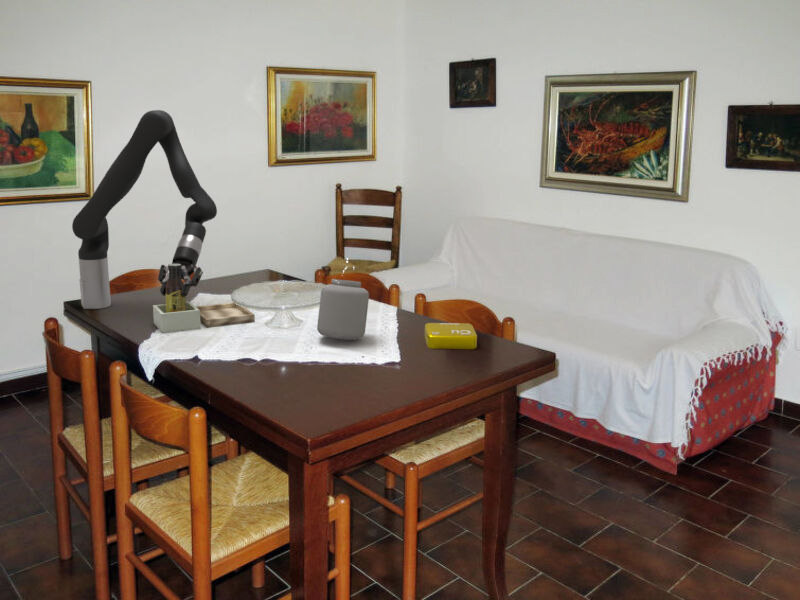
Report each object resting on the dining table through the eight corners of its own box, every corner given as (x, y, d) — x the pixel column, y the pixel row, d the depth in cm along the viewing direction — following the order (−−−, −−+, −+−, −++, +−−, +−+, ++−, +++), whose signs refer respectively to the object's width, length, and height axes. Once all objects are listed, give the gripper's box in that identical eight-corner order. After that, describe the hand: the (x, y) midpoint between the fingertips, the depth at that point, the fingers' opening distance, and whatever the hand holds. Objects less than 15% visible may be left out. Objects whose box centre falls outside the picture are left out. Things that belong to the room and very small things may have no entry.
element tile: (470, 336, 244) (471, 321, 243) (477, 350, 229) (478, 335, 228) (424, 335, 243) (424, 321, 242) (427, 350, 229) (428, 334, 228)
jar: (338, 327, 248) (339, 251, 242) (379, 333, 242) (380, 256, 236) (308, 342, 232) (307, 261, 226) (350, 349, 226) (351, 267, 220)
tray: (206, 327, 245) (206, 320, 244) (192, 314, 260) (191, 307, 259) (254, 321, 252) (254, 314, 252) (237, 309, 267) (237, 302, 267)
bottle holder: (162, 332, 238) (161, 314, 236) (153, 323, 248) (152, 305, 246) (200, 328, 244) (199, 310, 242) (190, 319, 254) (190, 301, 252)
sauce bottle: (174, 328, 242) (171, 267, 237) (162, 325, 245) (158, 264, 240) (191, 324, 247) (188, 264, 242) (179, 321, 250) (175, 261, 245)
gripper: (163, 243, 248) (147, 287, 240) (204, 246, 246) (190, 290, 237) (171, 256, 255) (156, 299, 246) (212, 259, 252) (198, 302, 244)
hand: (173, 295), depth 242 cm, fingers closed on sauce bottle, 6 cm apart
